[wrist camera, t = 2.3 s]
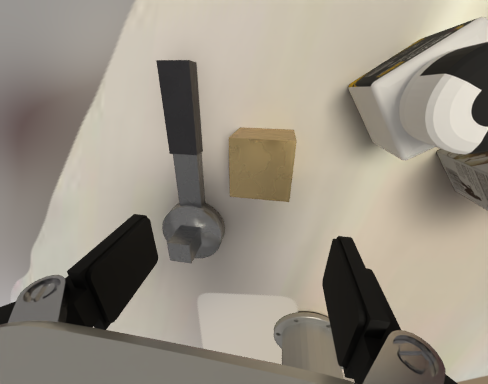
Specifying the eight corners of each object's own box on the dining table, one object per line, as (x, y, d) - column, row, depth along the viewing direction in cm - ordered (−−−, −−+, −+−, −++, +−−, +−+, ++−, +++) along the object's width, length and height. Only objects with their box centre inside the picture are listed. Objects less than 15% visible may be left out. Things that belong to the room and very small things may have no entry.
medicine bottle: (423, 36, 20) (589, -26, 9) (445, 106, 22) (603, 123, 11) (346, 85, 22) (403, 82, 12) (372, 143, 24) (442, 186, 14)
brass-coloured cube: (293, 129, 25) (296, 140, 20) (288, 180, 28) (289, 201, 22) (240, 127, 26) (228, 137, 21) (239, 176, 29) (229, 196, 23)
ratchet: (219, 62, 23) (198, 53, 18) (225, 251, 35) (214, 282, 29) (144, 62, 24) (101, 54, 19) (174, 244, 36) (153, 273, 30)
